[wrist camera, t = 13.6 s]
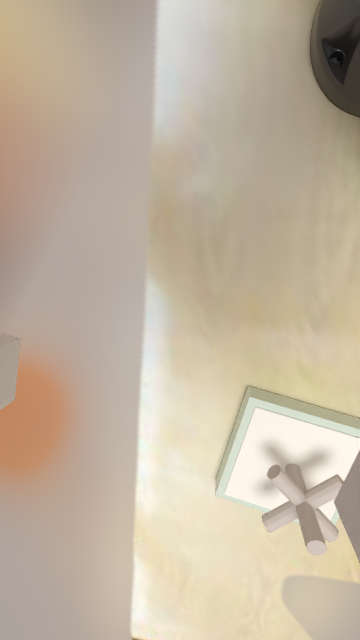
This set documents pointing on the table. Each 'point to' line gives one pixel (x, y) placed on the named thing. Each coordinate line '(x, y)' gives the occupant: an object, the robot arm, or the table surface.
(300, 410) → the stand
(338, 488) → the pipe connector
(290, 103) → the table surface
